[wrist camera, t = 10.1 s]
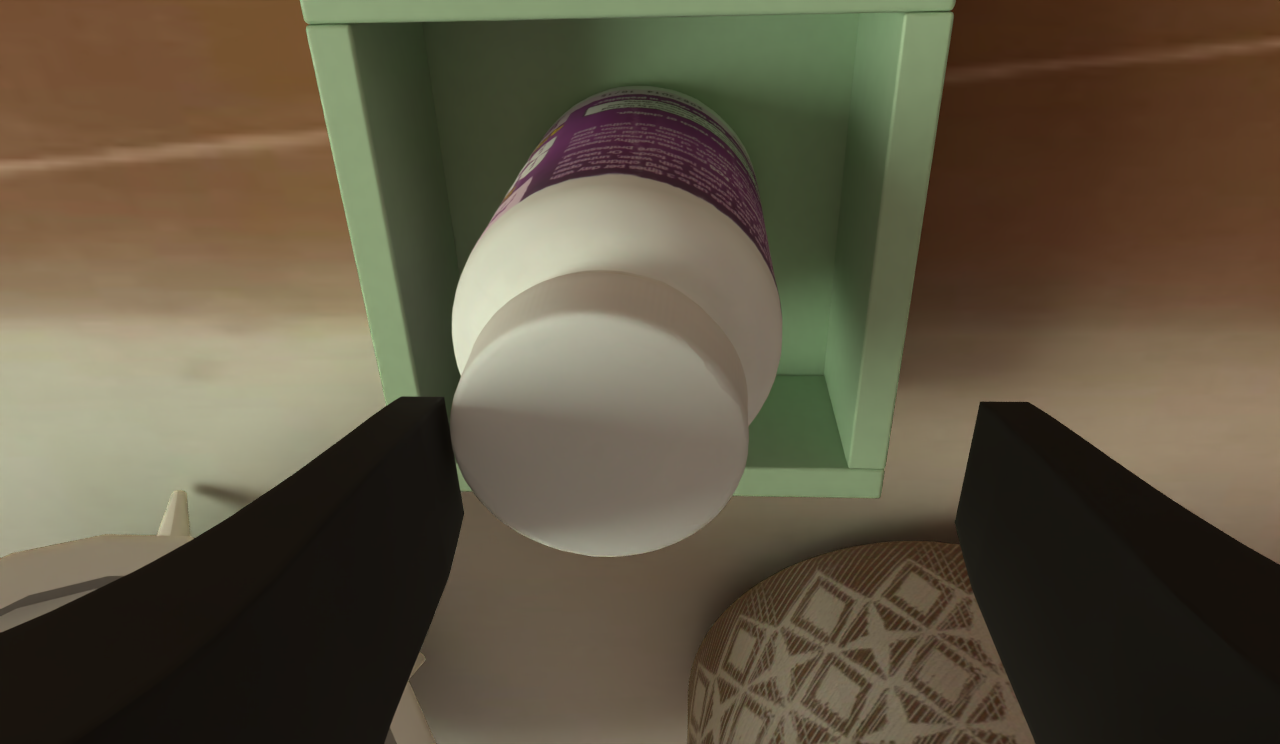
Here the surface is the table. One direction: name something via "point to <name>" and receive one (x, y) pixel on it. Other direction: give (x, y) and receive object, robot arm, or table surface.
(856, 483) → the bin
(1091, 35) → the table surface
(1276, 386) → the table surface
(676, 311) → the pill bottle
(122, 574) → the alarm clock
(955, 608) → the planter
